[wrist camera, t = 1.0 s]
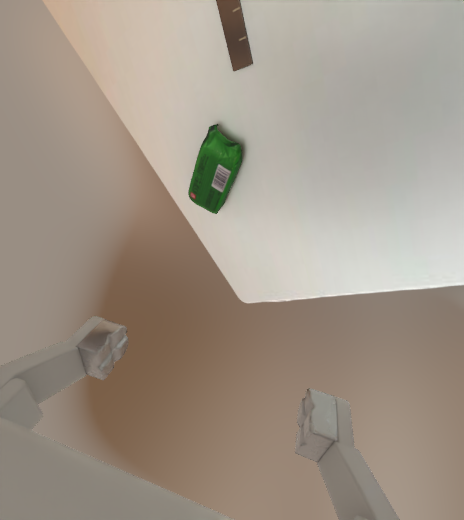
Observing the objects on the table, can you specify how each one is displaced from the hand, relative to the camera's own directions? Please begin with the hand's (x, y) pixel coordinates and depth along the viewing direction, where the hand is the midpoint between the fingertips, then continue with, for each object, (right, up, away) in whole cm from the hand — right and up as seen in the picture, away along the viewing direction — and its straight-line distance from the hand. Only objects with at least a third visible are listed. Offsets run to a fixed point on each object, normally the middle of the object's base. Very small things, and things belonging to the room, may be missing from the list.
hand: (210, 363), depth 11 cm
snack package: (-1, +21, +38) cm, 43 cm away
